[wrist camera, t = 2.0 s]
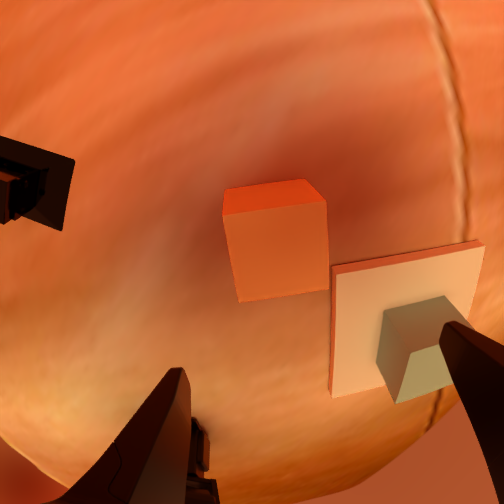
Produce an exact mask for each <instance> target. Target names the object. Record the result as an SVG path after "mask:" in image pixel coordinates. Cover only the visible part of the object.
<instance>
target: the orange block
mask: <svg viewBox="0 0 504 504" xmlns="http://www.w3.org/2000/svg"><path fill="white" fill-rule="evenodd" d="M222 218H223V224H224V229H225V235H226V240H227V245H228V251H229V256H230V261H231V267H232V272H233V277H234V282H235V287H236V292H237V297H238V302H239V303H242V302H249V301H256V300H263V299H269V298H276V297H283V296H289V295H295V294H301V293H307V292H313V291H319V290H325V289H329V249H328V223H327V204H326V200H325V199H324V198H323V197H322V196H321V195H320V194H319V193H318V192H317V191H316V190H315V189H314V188H313V187H312V186H311V185H310V184H309V182H308V181H307V180H306V179H305V178H304V179H296V180H288V181H280V182H273V183H266V184H259V185H252V186H245V187H238V188H232V189H225V192H224V201H223V211H222Z"/></svg>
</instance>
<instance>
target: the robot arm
mask: <svg viewBox="0 0 504 504" xmlns="http://www.w3.org/2000/svg"><path fill="white" fill-rule="evenodd" d="M439 346H440V349H441V352H442V354H443V357H444V360H445V362H446V365H447V368H448V371H449V373H450V376H451V379H452V381H453V383H454V385H455V388H456V390H457V392H458V394H459V396H460V398H461V401H462V403H463V405H464V407H465V410H466V412H467V414H468V417H469V419H470V421H471V424H472V426H473V429H474V431H475V434H476V436H477V439H478V441H479V444H480V446H481V449H482V452H483V455H484V457H485V460H486V463H487V466H488V469H489V472H490V475H491V478H492V481H493V484H494V488H495V490H496V494H497V498H498V501H499V504H504V346H503V345H502V344H500V343H498V342H496V341H494V340H492V339H490V338H488V337H486V336H484V335H482V334H481V333H479V332H477V331H475V330H473V329H471V328H469V327H467V326H465V325H463V324H461V323H459V322H457V321H455V320H452V321H449V322H446V323H445V324H444V325H443V328H442V331H441V334H440V338H439ZM209 449H210V442H209V440H208V438H207V436H206V434H205V432H204V431H202V430H201V428H200V426H199V424H198V422H197V420H196V419H194V418H191V388H190V383H189V380H188V378H187V375H186V373H185V370H184V369H183V368H182V367H176V368H170V369H169V370H168V372H167V373H166V374H165V375H164V377H163V378H162V379H161V381H160V382H159V383H158V385H157V386H156V387H155V388H154V390H153V391H152V392H151V394H150V395H149V396H148V397H147V399H146V400H145V401H144V403H143V404H142V405H141V406H140V408H139V409H138V410H137V412H136V413H135V414H134V416H133V417H132V418H131V419H130V421H129V422H128V423H127V425H126V426H125V427H124V428H123V430H122V431H121V432H120V434H119V435H118V436H117V437H116V439H115V440H114V442H112V444H111V445H110V446H109V447H108V449H107V450H106V451H105V452H104V454H103V455H102V456H101V457H100V458H99V460H98V461H97V462H96V463H95V464H94V465H93V466H92V467H91V468H90V469H89V470H88V471H87V472H86V473H85V474H84V475H83V476H82V477H81V478H80V479H79V480H78V481H77V482H76V483H75V484H74V485H73V486H72V487H71V488H70V489H69V490H68V491H67V492H66V493H65V494H63V495H62V496H61V497H59V498H57V499H55V500H53V501H50V502H46V503H42V504H220V501H219V495H218V489H217V483H216V479H205V478H204V472H207V471H208V470H209Z"/></svg>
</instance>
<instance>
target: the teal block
mask: <svg viewBox="0 0 504 504" xmlns="http://www.w3.org/2000/svg"><path fill="white" fill-rule="evenodd" d="M452 320H455V321H457V322H459V323H461V324H463V325H465V326H467V327H469V328H471V329H473V330H475V329H474V328H473V327H472V326H471V325H470V324H469V322H468V321H467V320H466V319H465V318H464V317H463V316H462V314H461V313H460V312H459V311H458V310H457V309H456V308H455V306H454V305H453V304H452V303H451V302H450V301H449V300H448V299H447V298H446V297H445V295H443V296H439V297H436V298H432V299H428V300H424V301H420V302H416V303H412V304H408V305H404V306H400V307H396V308H391V309H387V310H384V312H383V320H382V327H381V334H380V340H379V346H378V352H377V358H376V364H377V366H378V369H379V371H380V373H381V375H382V377H383V379H384V381H385V383H386V385H387V388H388V390H389V392H390V394H391V396H392V398H393V401H394V403H395V404H397V403H400V402H404V401H407V400H410V399H413V398H416V397H418V396H421V395H424V394H427V393H430V392H432V391H435V390H438V389H440V388H443V387H445V386H448V385H450V384H453V381H452V379H451V376H450V373H449V371H448V368H447V365H446V362H445V360H444V357H443V354H442V352H441V349H440V346H439V338H440V334H441V331H442V328H443V325H444V324H445V323H446V322H449V321H452Z"/></svg>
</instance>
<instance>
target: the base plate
mask: <svg viewBox="0 0 504 504" xmlns="http://www.w3.org/2000/svg"><path fill="white" fill-rule="evenodd" d="M484 251H485V245H484V244H482V243H481V242H479V241H478V240H475V241H470V242H465V243H460V244H454V245H449V246H444V247H439V248H433V249H428V250H423V251H417V252H412V253H406V254H400V255H395V256H389V257H383V258H378V259H372V260H366V261H360V262H354V263H348V264H342V265H336V266H331V268H332V315H331V353H330V375H329V392H330V395H331V398H336V397H340V396H345V395H349V394H353V393H357V392H361V391H365V390H369V389H373V388H377V387H380V386H384V385H386V383H385V381H384V379H383V377H382V375H381V373H380V371H379V369H378V366H377V364H376V358H377V352H378V346H379V340H380V334H381V327H382V320H383V312H384V310H387V309H391V308H396V307H400V306H404V305H408V304H412V303H416V302H420V301H424V300H428V299H432V298H436V297H439V296H443V295H445V297H446V298H447V299H448V300H449V301H450V302H451V303H452V304H453V305H454V306H455V308H456V309H457V310H458V311H459V312H460V313H461V314H462V316H463V317H464V318H465V319H466V320H467V318H468V315H469V312H470V308H471V305H472V301H473V298H474V294H475V290H476V286H477V282H478V278H479V274H480V270H481V265H482V260H483V256H484Z"/></svg>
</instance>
